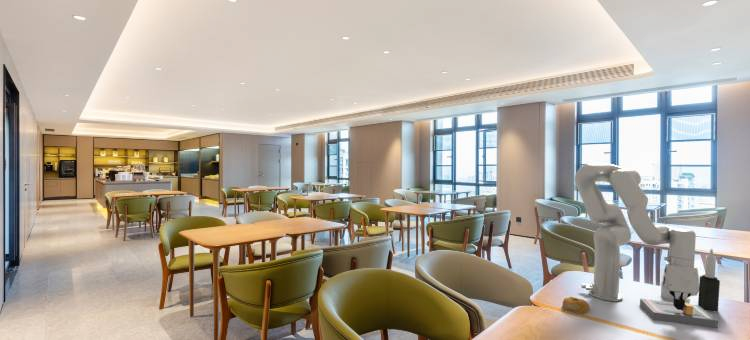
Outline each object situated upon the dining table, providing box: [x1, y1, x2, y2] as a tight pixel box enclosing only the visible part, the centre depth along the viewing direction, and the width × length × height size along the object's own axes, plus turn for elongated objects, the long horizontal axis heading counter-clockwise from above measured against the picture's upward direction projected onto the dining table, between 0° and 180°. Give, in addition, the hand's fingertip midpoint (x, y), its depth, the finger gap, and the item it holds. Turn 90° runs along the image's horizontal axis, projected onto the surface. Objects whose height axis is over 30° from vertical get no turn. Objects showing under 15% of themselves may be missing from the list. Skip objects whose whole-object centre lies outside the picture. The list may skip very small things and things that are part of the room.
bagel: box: [562, 296, 591, 314], centre depth 150 cm, size 10×11×5 cm
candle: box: [697, 248, 721, 313], centre depth 151 cm, size 5×5×25 cm
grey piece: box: [660, 280, 680, 302], centre depth 161 cm, size 4×7×10 cm, turn 4°
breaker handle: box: [682, 302, 693, 315], centre depth 140 cm, size 2×3×3 cm, turn 162°
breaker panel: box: [639, 297, 719, 330], centre depth 144 cm, size 20×14×7 cm
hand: (678, 308), depth 140 cm, fingers closed
